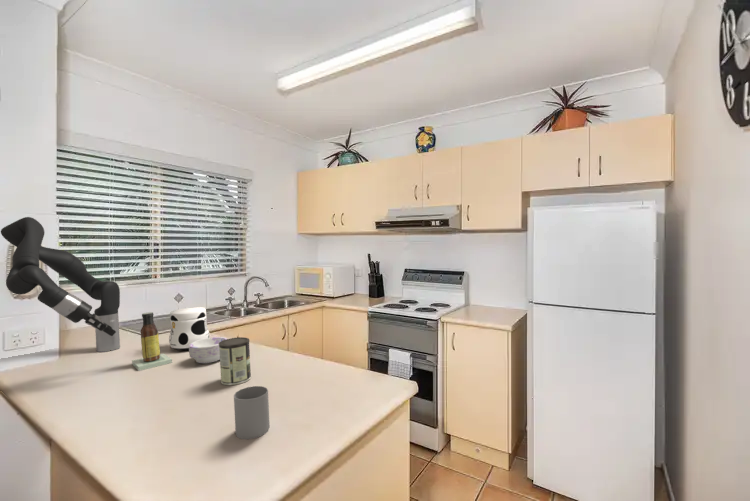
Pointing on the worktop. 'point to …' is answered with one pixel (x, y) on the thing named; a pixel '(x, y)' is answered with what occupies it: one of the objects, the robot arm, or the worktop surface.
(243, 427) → the cup
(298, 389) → the worktop surface
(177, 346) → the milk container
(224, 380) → the coffee can
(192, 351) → the paper bowls
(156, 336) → the sauce bottle
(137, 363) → the trivet
